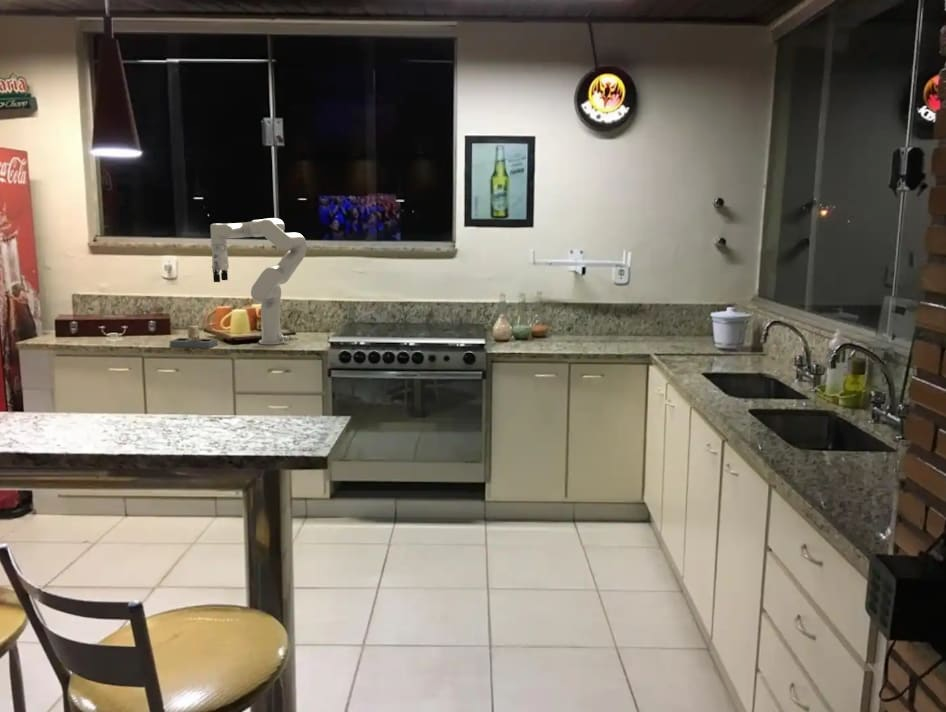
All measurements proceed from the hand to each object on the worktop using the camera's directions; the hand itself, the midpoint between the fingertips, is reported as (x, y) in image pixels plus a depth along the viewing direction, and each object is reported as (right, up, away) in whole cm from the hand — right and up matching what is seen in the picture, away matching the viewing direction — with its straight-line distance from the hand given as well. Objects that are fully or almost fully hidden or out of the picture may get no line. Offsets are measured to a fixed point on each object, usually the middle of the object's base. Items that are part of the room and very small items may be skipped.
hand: (220, 281), depth 398 cm
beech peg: (-8, -34, -15) cm, 38 cm away
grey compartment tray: (-8, -34, -15) cm, 38 cm away
